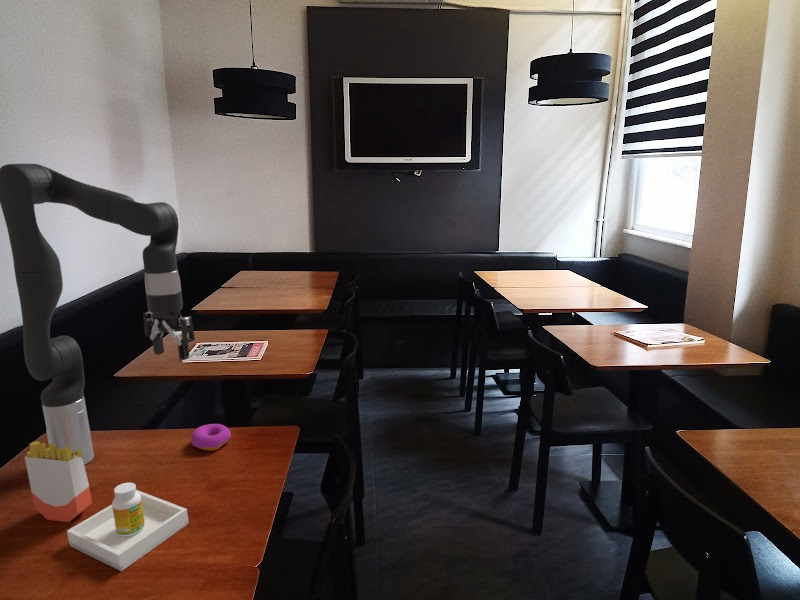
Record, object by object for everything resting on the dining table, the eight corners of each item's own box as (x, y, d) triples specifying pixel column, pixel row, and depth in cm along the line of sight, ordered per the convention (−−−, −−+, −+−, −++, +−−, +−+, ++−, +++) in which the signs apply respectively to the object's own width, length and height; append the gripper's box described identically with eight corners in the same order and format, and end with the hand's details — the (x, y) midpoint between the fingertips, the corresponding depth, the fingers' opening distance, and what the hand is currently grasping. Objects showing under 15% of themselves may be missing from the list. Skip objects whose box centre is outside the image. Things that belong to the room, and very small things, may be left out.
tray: (69, 545, 112) (66, 530, 111) (138, 503, 126) (136, 489, 125) (121, 571, 104) (118, 555, 104) (188, 523, 118) (186, 509, 117)
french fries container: (53, 506, 125) (39, 433, 121) (95, 511, 123) (82, 437, 119) (36, 518, 121) (21, 443, 117) (79, 523, 119) (65, 447, 115)
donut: (213, 456, 146) (212, 440, 145) (183, 449, 150) (181, 434, 149) (238, 438, 155) (237, 423, 154) (209, 432, 159) (207, 418, 158)
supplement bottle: (134, 539, 112) (128, 496, 110) (110, 536, 113) (104, 494, 111) (150, 522, 117) (144, 481, 115) (127, 520, 118) (121, 479, 116)
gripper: (129, 290, 128) (138, 357, 132) (171, 296, 122) (179, 366, 126) (156, 284, 135) (164, 347, 139) (198, 289, 128) (205, 356, 132)
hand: (171, 356), depth 132 cm, fingers open, 8 cm apart
